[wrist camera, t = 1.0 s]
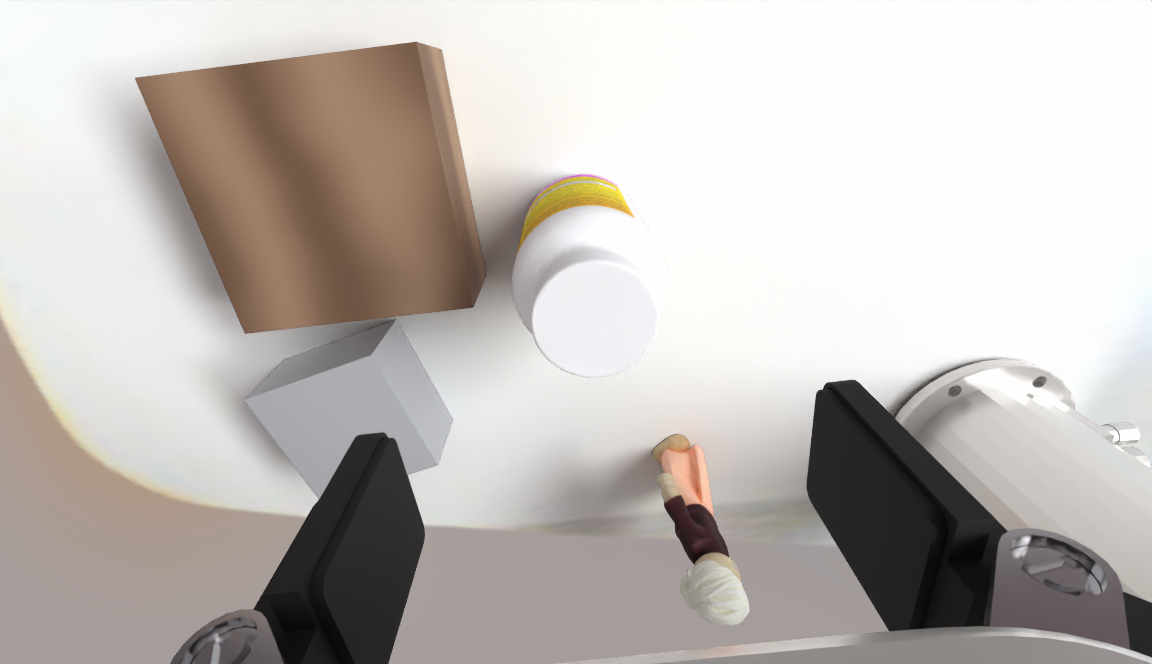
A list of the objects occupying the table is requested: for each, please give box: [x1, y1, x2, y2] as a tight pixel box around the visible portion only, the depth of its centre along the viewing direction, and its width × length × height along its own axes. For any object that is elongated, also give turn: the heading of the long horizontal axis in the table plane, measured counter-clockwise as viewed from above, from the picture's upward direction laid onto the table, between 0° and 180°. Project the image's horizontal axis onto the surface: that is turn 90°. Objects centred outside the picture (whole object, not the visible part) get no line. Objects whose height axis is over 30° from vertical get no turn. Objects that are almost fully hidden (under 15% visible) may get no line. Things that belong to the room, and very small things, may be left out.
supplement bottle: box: [512, 174, 668, 377], centre depth 24 cm, size 7×7×13 cm
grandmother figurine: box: [653, 434, 749, 625], centre depth 32 cm, size 8×4×13 cm, turn 43°
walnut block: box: [135, 42, 486, 334], centre depth 26 cm, size 12×12×5 cm
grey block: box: [244, 319, 453, 499], centre depth 32 cm, size 8×8×5 cm
